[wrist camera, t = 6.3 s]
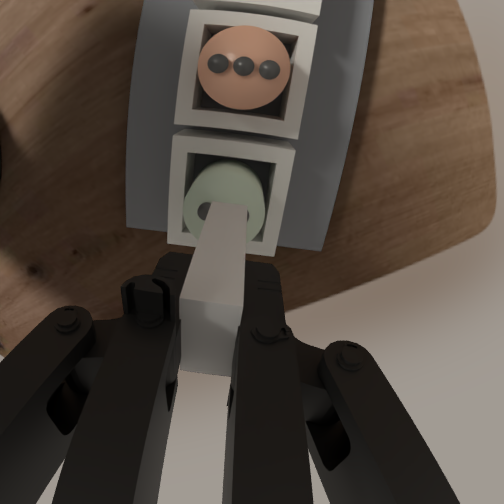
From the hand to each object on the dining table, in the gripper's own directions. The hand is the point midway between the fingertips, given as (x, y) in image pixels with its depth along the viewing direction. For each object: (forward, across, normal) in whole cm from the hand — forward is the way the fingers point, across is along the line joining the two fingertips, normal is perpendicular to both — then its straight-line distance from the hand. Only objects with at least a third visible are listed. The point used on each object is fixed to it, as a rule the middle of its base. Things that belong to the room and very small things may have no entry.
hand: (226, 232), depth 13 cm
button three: (+5, 0, +7) cm, 9 cm away
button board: (+8, 0, +7) cm, 11 cm away
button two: (+5, 0, 0) cm, 5 cm away
